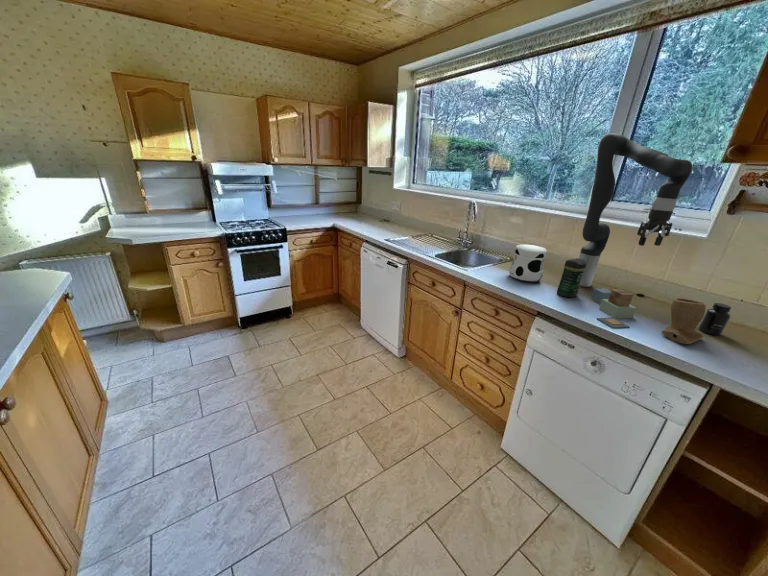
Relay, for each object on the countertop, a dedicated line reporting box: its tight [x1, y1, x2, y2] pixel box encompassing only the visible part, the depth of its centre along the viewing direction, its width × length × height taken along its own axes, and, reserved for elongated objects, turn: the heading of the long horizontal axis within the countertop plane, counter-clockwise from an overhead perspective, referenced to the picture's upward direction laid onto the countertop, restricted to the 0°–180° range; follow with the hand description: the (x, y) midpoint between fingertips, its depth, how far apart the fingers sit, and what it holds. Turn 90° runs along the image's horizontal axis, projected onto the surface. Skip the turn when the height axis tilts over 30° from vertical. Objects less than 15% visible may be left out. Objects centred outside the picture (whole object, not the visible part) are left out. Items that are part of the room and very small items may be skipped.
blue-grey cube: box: [590, 287, 611, 304], centre depth 153 cm, size 6×6×6 cm
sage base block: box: [598, 299, 638, 319], centre depth 141 cm, size 9×9×5 cm
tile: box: [596, 316, 630, 329], centre depth 131 cm, size 8×8×1 cm
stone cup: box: [661, 297, 706, 345], centre depth 121 cm, size 15×12×15 cm
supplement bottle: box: [698, 302, 732, 337], centre depth 127 cm, size 7×7×12 cm
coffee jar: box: [556, 257, 586, 299], centre depth 156 cm, size 10×8×19 cm
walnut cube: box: [608, 288, 634, 306], centre depth 139 cm, size 6×6×6 cm
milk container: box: [508, 243, 547, 283], centre depth 175 cm, size 17×17×18 cm
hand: (648, 245), depth 144 cm, fingers open, 8 cm apart
